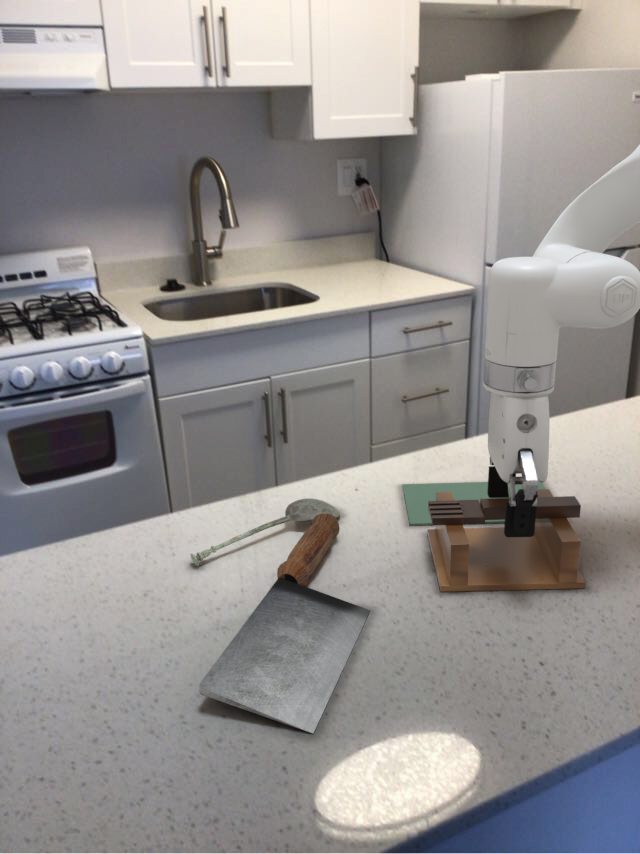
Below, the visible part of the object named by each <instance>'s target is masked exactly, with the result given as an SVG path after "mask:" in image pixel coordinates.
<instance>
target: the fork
mask: <svg viewBox="0 0 640 854" xmlns="http://www.w3.org/2000/svg"><path fill="white" fill-rule="evenodd" d="M506 503H509V498H491V499H480V502H479V500H451V501H428V510H429V514H430V518H431V520H432V525H431V526H435V525H463V526H464V525H465V526H468V525H470V526H471V525H473V526H474V525H485V520H505V511H506ZM581 507H582V505H581V503H580V502H579V500H578V499H577V497H576V496H575V495H569V496H568V495H566V496H565V495H564V496H553V497H537V508H536V519H546V518H567V519H576V518H579V519H580V518H581V517H580V516H581Z"/></svg>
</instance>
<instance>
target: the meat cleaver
mask: <svg viewBox="0 0 640 854" xmlns="http://www.w3.org/2000/svg"><path fill="white" fill-rule="evenodd" d="M311 521H312V522H311V525H310V526H309V527H307V529H306V530H305V532H304V533H303V534H302V535H301V537H300V538H299V540H298V541H297V543H296V544H295V546H294V547H293V548H292V550H291V551H290V553H289V555H288V556H287V559H286V560H285V561H283V562H282V563H280V564H279V566H278V568H277V571H276V577H277V579H276V581H275V582H274V583H273V585H272V586H271V588H269V590H268V592H267V593H266V594H265V595H264V597H263V598H262V600H261V601H260V602H259V603H258V605H257V606H256V608H255V609H254V610H253V611H252V612H251V614H250V615H249V617H248V618H247V619H246V621H245V622H244V624H243V625H242V626H241V627H240V629H239V630H238V631H237V633H236V634H235V635H234V637H232V640H231V641H230V642H229V644H228V645H227V646H226V648H225V649H224V650H223V651H222V653H221V655H219V656H218V658H217V660H216V661H215V662H214V664H213V665H212V666H211V668H210V669H209V670H208V672H207V673H206V674H205V676H204V677H203V679H202V680H201V681H200V682H199V684H198V685H199V686H198V692H199V694H200V695H202V696H205V697H207V698H211V699H213V700H216V701H219V702H222V703H224V704H227V705H230V706H233V707H236V708H239V709H242V710H245V711H247V712H249V713H253V714H256V715H258V716H261V717H264V718H268V719H270V720H273V721H276V722H278V723H281V724H283V725H286V726H290V727H292V728H296V729H298V730H301V731H304V732H307V733H310V734H314V733H315V731H316V729H317V727H318V725H319V722H320V721H321V719H322V716H323V714H324V711H325V710H326V706H327V705H328V703H329V701H330V700H331V699H330V698H331V697H332V694H333V692H334V690H335V688H336V686H337V683H338V681H339V679H340V677H341V675H342V673H343V670H344V669H345V667H346V664H347V662H348V659H349V658H350V655H351V654H352V651H353V648H354V647H355V644H356V642H357V640H358V638H359V637H360V633H361V631H362V629H363V628H364V625H365V623H366V621H367V619H368V617H369V614H370V612H371V609H369V608H365V607H362V606H359V605H357V604H354V603H352V602H349V601H346V600H343V599H341V598H338V597H335V596H332V595H329V594H327V593H324V592H323V591H322V592H321V591H318V590H316V589H313V588H311V587H307V585H308V584H309V580H310V579H309V578H310V576H311V575H312V574H313V573H314V571H315V570H316V568H317V567H318V565H319V564H320V562H321V560H322V559H323V557H324V555H326V553H327V551H328V550H329V548H330V546H331V545H332V541H333V539H335V538H336V537H338V535H339V533H340V528H341V527H340V524H339V521H338V519H337V518H336V517H334V516H333V515H331V514H319V515H317V516H316V517H314V519H313V520H311Z"/></svg>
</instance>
